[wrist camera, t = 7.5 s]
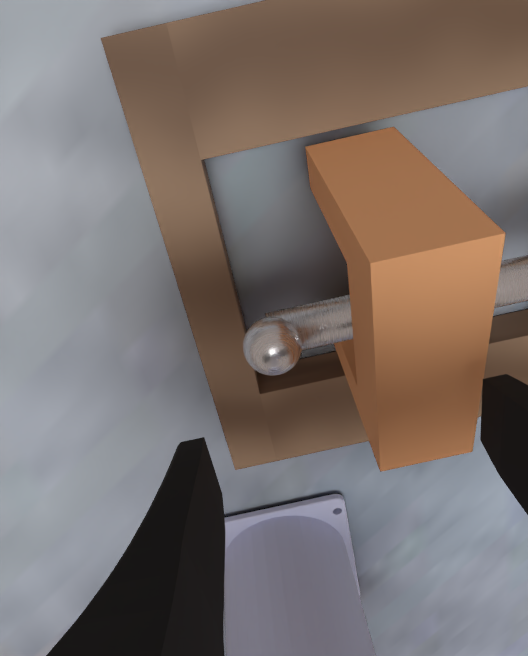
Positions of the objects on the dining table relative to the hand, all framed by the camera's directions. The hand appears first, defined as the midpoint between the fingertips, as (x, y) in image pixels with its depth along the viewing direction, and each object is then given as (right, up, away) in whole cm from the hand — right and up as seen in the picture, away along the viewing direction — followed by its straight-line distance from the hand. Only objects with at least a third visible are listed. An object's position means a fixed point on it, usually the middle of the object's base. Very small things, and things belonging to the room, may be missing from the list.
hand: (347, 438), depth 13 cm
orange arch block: (+1, +6, +6) cm, 9 cm away
